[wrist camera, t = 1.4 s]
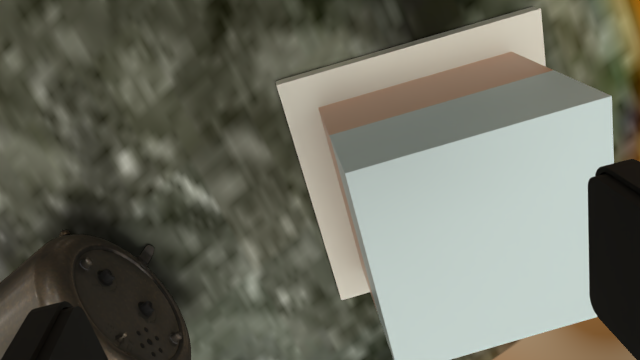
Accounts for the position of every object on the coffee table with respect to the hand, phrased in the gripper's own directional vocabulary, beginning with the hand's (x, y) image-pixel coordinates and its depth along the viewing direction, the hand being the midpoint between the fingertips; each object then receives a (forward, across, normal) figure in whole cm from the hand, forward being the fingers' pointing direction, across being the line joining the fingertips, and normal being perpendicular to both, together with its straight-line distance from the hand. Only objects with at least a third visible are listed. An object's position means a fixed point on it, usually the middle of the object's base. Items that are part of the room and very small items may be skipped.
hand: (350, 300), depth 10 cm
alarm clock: (+25, +14, +11) cm, 30 cm away
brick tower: (+24, -8, +9) cm, 27 cm away
